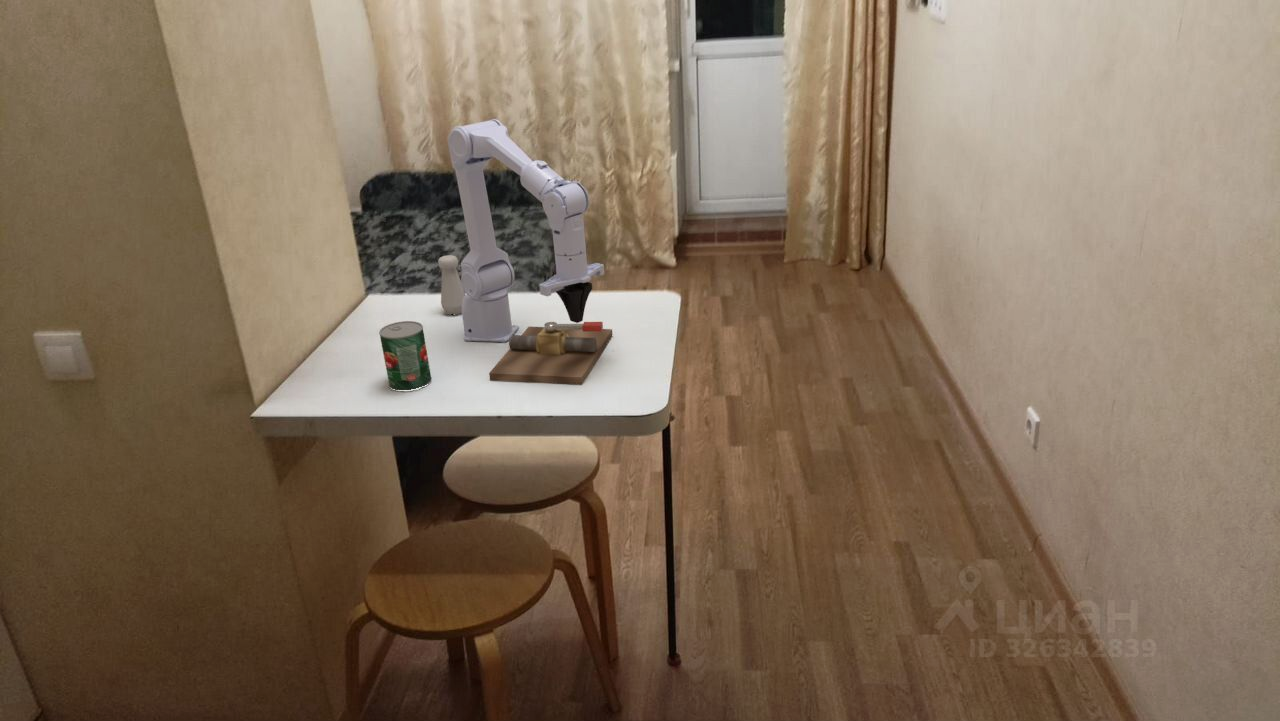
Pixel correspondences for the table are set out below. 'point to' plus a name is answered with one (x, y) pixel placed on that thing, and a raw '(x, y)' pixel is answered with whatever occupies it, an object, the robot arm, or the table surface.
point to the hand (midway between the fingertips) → (576, 320)
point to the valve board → (551, 356)
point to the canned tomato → (405, 355)
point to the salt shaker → (451, 285)
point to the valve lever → (574, 326)
